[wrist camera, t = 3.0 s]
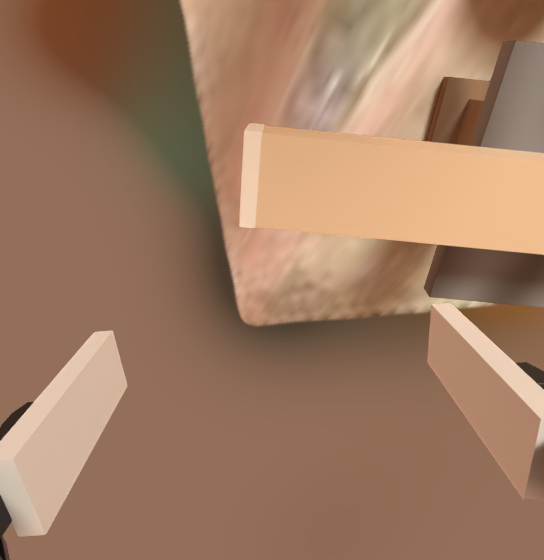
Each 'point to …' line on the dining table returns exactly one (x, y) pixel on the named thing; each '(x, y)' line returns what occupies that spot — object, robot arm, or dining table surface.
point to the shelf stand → (502, 135)
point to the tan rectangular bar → (392, 189)
